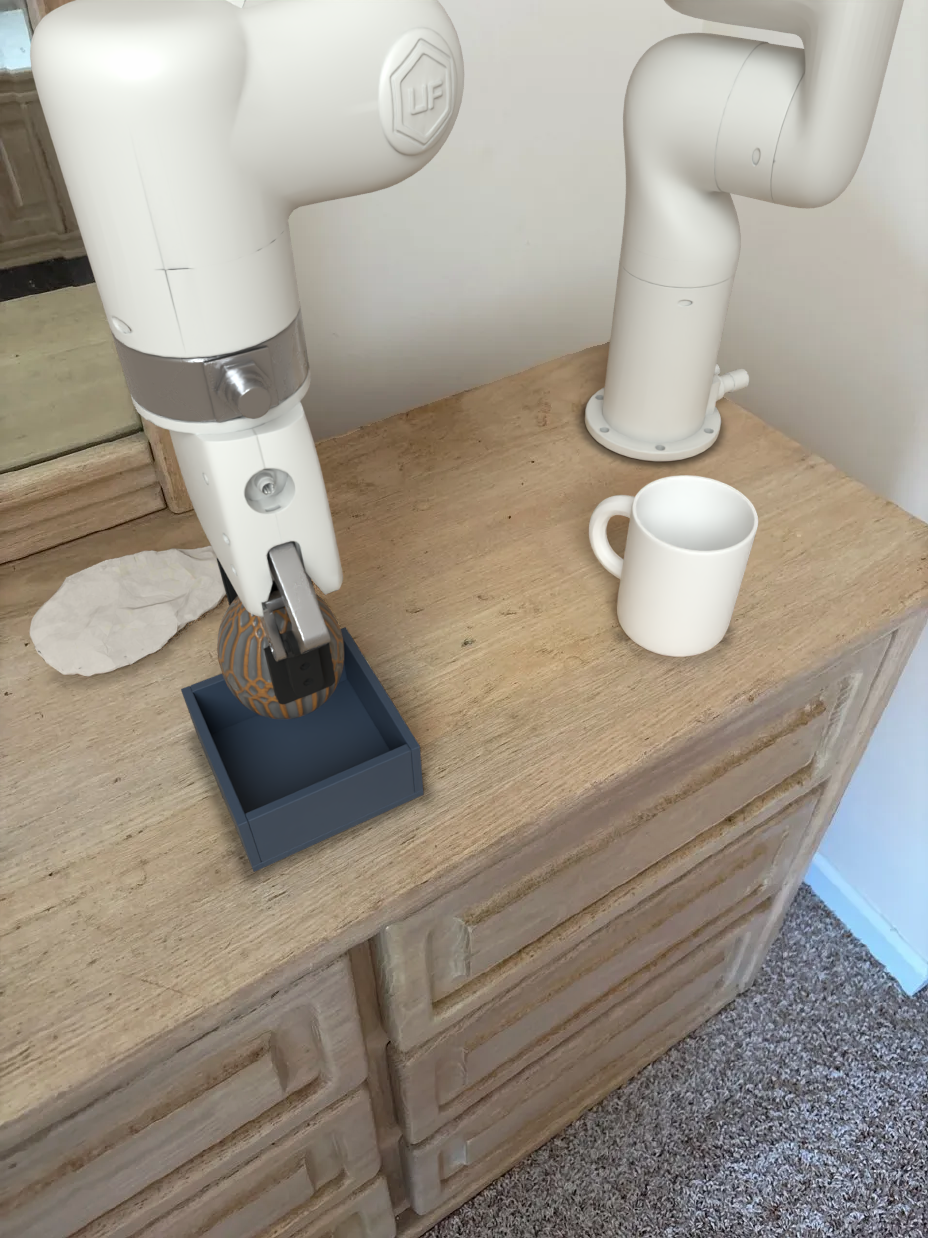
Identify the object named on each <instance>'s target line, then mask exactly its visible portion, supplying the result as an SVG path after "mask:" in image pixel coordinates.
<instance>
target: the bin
mask: <svg viewBox="0 0 928 1238" xmlns="http://www.w3.org/2000/svg"><path fill="white" fill-rule="evenodd" d="M340 629H341V633H342V637H343V644H344V665H343V670H342V674H341V677H340V680H339V683H338V685H337V687H336V689H335V690H334V692H333V694H332V695H331V696H330V698H329V699H328V700H327V701H326V702H325V703H323V704H322V705H321V706H320V707H319V708H317V709H316V710H314V711H313V712H311V713H309V714H306V715H304V716H301V717H297V718H292V719H273V718H269V717H265V716H262V715H259V714H257V713H255V712H253V711H251V710H250V709H248V708H247V707H246V706H244V705H243V704H242V703H241V702H240V701H239V700H238V699H237V698H236V697H235V696H234V694H233V693H232V692H231V690H230V689H229V687H228V685H227V684H226V681H225V679H224V677H223V674H222V673H219V674H216V675H214V676H211V677H209V678H206V679H204V680H200V681H198V682H196V683H193V684H190V685H188V686H185V687H182V688H181V689H180V692H181V695H182V697H183V700H184V702H185V706H186V708H187V711H188V714H189V716H190V719H191V722H192V725H193V728H194V729H195V733H196V736H197V738H198V741H199V743H200V746H201V748H202V751H203V753H204V755H205V758H206V761H207V763H208V765H209V768H210V770H211V772H212V775H213V777H214V779H215V782H216V785H217V788H218V789H219V792H220V794H221V798H223V801H224V804H225V807H226V809H227V811H228V813H229V816H230V818H231V821H232V823H233V825H234V828H235V830H236V833H237V835H238V837H239V840H240V843H241V845H242V848H243V849H244V852H245V854H246V857H247V859H248V862H249V865H250V866H251V869H252V871H253V873H254V872H257V871H260V870H261V869H264V868H266V867H269V866H271V865H273V864H275V863H277V862H279V861H281V860H283V859H286V858H288V857H291V856H293V855H295V854H296V853H299V852H301V851H303V850H306V849H309V848H310V847H312V846H314V845H316V844H319V843H321V842H323V841H325V840H328V839H330V838H332V837H333V836H334V837H335V836H336V835H338V834H340V833H343V832H346V831H347V830H349V829H351V828H354V827H357V826H359V825H360V824H362V823H364V822H367V821H370V820H371V819H373V818H376V817H378V816H381V815H383V814H384V813H387V812H389V811H392V810H393V809H395V808H397V807H401V806H402V805H404V804H406V803H409V802H410V801H413V800H416V799H418V798H419V797H422V796H424V793H425V792H424V783H423V782H424V781H423V770H422V769H423V768H422V767H423V766H422V755H421V745H420V743H419V742H418V741H417V739H416V737H415V736H414V734H413V733H412V731H411V730H410V728H409V726H408V725H407V722H406V721H405V719H404V718H403V716H402V715H401V713H400V711H399V710H398V709H397V707H396V705H395V704H394V702H393V700H392V698H390V696H389V694H388V693H387V691H386V689H385V687H384V686H383V685H382V683H381V681H380V680H379V678H378V676H377V675H376V673H375V671H374V669H373V668H372V667H371V665H370V664H369V662H368V660H367V659H366V657H365V656H364V654H363V652H362V651H361V649H360V648H359V646H358V644H357V643H356V641H355V640H354V638H353V637H352V635H351V633H350V632H349V630H348V629H347V627H341V628H340Z"/></svg>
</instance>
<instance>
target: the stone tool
mask: <svg viewBox="0 0 928 1238" xmlns="http://www.w3.org/2000/svg"><path fill="white" fill-rule="evenodd" d="M216 558H217V556H216V554H215V552H214V550H213V548H212V546H211V545H207V546H204V547H197V548H193V549H189V548H188V549H187V548H185V549H184V548H176V547H175V548H170V549H167V550H161V551H156V550H142V551H139V552H136V553H132V554H126V555H123V556H120V557H115V558H110V559H105V560H103V561H101V562H99V563H96V564H93V565H91V566H89V567H86V568H84V569H82V570H79V571H78V572H76V573H73V574H71V575H68V576H67V577H65V579H64V581H63V582H62V583H61V585H60V586H59V588H58V589H57V590H56V592H54V593H53V595H52V596H51V597H50V598H48V600H46V601H45V602H44V603H43V604H42V605H41V606H40V607H39V608H38V609H37V610H36V612H35V614H34V615H33V617H32V619H31V622H30V626H29V637H30V639H31V641H32V643H33V645H34V650H35V651H36V653H37V654H38V655H39V656H40V657H41V658H42V659H43V661H44V662H45V664H46V665H48V666H50V667H51V668H53V669H55V671H57V672H59V673H60V674H61V675H63V676H64V675H65V676H66V675H73V676H74V675H81V676H85V677H91V676H94V675H101V674H106V673H110V672H113V671H114V670H117V669H120V668H124V667H126V666H128V665H133V664H135V663H136V662H137V661H139V660H141V659H143V658H145V657H146V656H148V655H152V654H155V652H158V651H159V650H161V649H162V648H163V646H165V645H166V644H167V643H168V641H169V640H170V639H172V638H173V637H174V636H175V635H176V633H178V632H179V631H180V630H182V629H183V628H185V627H186V626H187V624H189V623H191V622H193V621H196V620H198V619H199V618H200V617H201V616H202V615H203V614H205V613H206V612H209V611H212V610H215V609H216V608H217V607H218V606H219V605H220V604H221V602H222V600H223V598H224V597H225V596H226V592H225V588H224V585H223V581H222V577H221V574H220V570H219V566H218V563H217V559H216Z"/></svg>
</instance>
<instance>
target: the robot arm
mask: <svg viewBox="0 0 928 1238" xmlns="http://www.w3.org/2000/svg"><path fill="white" fill-rule="evenodd" d="M663 1H664V3H665V4H666V5H667V6H668V7H669V8H671V9H672V10H674V11H675V12H677V13H680V14H682V15H685V16H687V17H691V18H693V19H697V20H703V21H707V22H713V23H719V24H725V25H732V26H738V27H746V28H752V29H759V30H765V31H772V32H778V33H784V34H789V35H790V34H791V35H795V36H797V37H799V39H801V42H802V45H803V48H801V47H796V46H795V47H794V46H788V45H782V44H775V43H771V42H768V41H764V40H757V39H751V38H743V37H738V36H732V35H731V36H730V35H725V34H717V33H709V32H708V33H707V32H688V33H687V32H686V33H678V34H674V35H671V36H667V37H665V38H663V39H661V40H659V41H657V42H655V43H654V44H652V46H650V47H649V48H648V49H647V50H645V52H644V53H643V54H642V55H641V56H640V58H639V59H638V61H637V62H636V64H635V66H634V67H633V69H632V72H631V74H630V76H629V79H628V82H627V85H626V89H625V94H624V101H623V112H622V133H623V135H622V136H623V147H624V148H623V149H624V150H623V151H624V163H625V165H624V166H625V167H624V168H625V199H624V214H623V227H622V236H621V245H620V246H621V247H620V255H619V256H620V257H619V260H618V270H617V278H616V286H615V295H614V296H615V297H614V305H613V312H612V321H611V329H610V338H609V345H608V353H607V355H608V356H607V365H606V372H605V382H604V387H602V388H601V389H599V390H597V391H596V392H595V393H594V394H592V396H591V397H590V398H589V399H588V401H587V403H586V406H585V410H584V411H585V412H584V423H585V427H586V429H587V431H588V433H589V435H590V436H591V437H592V438H593V439H594V440H595V441H596V442H597V443H598V444H600V445H602V446H603V447H604V448H606V449H607V450H610V451H612V452H614V453H615V454H619V455H621V456H625V457H627V458H630V459H631V458H632V459H635V460H640V461H647V462H648V461H649V462H674V461H681V460H685V459H688V458H692V457H695V456H697V455H699V454H702V453H703V452H705V451H707V450H709V448H711V447H712V446H713V445H714V443H715V442H716V441H717V439H718V437H719V435H720V430H721V426H722V418H721V413H720V411H719V409H718V407H717V406H716V403H717V402H718V401H720V400H722V399H723V398H724V396H725V394H731V393H735V392H737V391H740V390H743V389H746V388H747V387H748V386H749V384H750V375H749V373H748V371H747V370H746V369H744V368H736V369H733V370H730V371H727V372H725V373H723V374H721V368H720V365H719V364H718V357H719V352H720V347H721V343H722V338H723V333H724V329H725V324H726V320H727V315H728V309H729V304H730V300H731V295H732V292H733V287H734V281H735V276H736V272H737V269H738V264H739V260H740V254H741V246H742V235H741V225H740V220H739V217H738V212H737V210H736V206H735V203H734V201H733V197H732V196H731V195H737V196H739V197H744V198H748V199H753V200H757V201H762V202H767V203H771V204H775V205H781V206H784V207H790V208H798V209H817V208H821V207H824V206H827V205H829V204H831V203H832V202H834V201H836V200H837V199H838V198H839V197H840V196H842V194H843V193H844V192H845V191H846V190H847V188H848V187H849V186H850V184H851V182H852V180H853V179H854V177H855V175H856V173H857V172H858V168H859V166H860V164H861V161H862V159H863V157H864V154H865V152H866V148H867V145H868V142H869V139H870V135H871V131H872V128H873V125H874V121H875V117H876V113H877V109H878V106H879V101H880V97H881V94H882V89H883V86H884V81H885V77H886V73H887V69H888V66H889V65H888V64H889V62H890V57H891V53H892V49H893V46H894V42H895V38H896V34H897V29H898V26H899V22H900V17H901V14H902V10H903V5H904V1H905V0H663ZM29 59H30V68H31V69H30V70H31V73H32V76H33V80H34V81H33V82H34V84H35V89H36V91H37V96H38V100H39V103H40V107H41V109H42V113H43V116H44V119H45V122H46V126H47V128H48V132H49V135H50V139H51V142H52V144H53V145H52V146H53V148H54V150H55V155H56V157H57V162H58V164H59V167H60V171H61V175H62V177H63V180H64V184H65V187H66V190H67V193H68V197H69V200H70V203H71V206H72V209H73V214H74V216H75V219H76V223H77V227H78V229H79V232H80V236H81V239H82V242H83V245H84V248H85V252H86V254H87V258H88V262H89V265H90V268H91V271H92V274H93V277H94V278H93V279H94V280H95V284H96V287H97V290H98V294H99V298H100V300H101V303H102V306H103V307H102V308H103V310H104V313H105V316H106V320H107V324H108V326H109V329H110V333H111V336H112V340H113V342H114V345H115V349H116V352H117V355H118V358H119V359H118V360H119V362H120V365H121V369H122V372H123V375H124V378H125V381H126V384H127V388H128V391H129V393H130V397H131V401H132V404H133V406H134V408H135V410H136V412H137V413H138V414H139V415H140V416H141V417H142V418H143V419H144V420H146V421H147V422H150V423H151V424H153V425H154V426H156V427H159V428H161V429H164V430H168V432H169V435H170V439H171V443H172V446H173V450H174V453H175V457H176V460H177V463H178V466H179V470H180V473H181V477H182V479H183V482H184V485H185V488H186V491H187V495H188V497H189V499H190V502H191V505H192V507H193V510H194V512H195V514H196V517H197V519H198V521H199V524H200V526H201V528H202V530H203V532H204V534H205V536H206V538H207V540H208V542H209V544H210V546H212V548H213V550H214V552H215V554H216V556H217V558H216V559H217V563H218V566H219V570H220V574H221V577H222V581H223V585H224V588H225V592H226V595H225V596H226V599H227V603H228V607H229V606H230V605H231V603H232V602H233V601H234V600H235V598H236V597H237V596H239V598H240V600H241V602H242V604H243V605H244V607H245V608H246V610H247V611H248V612H249V613H251V614H254V615H256V616H259V617H260V619H261V622H262V625H263V628H264V631H265V634H266V637H267V640H268V643H269V646H268V647H266V648H264V652H265V656H266V661H267V665H268V669H269V673H270V677H271V681H272V685H273V689H274V693H275V696H276V698H277V700H278V702H279V703H280V704H287V703H290V702H292V701H295V700H297V699H300V698H302V697H305V696H308V695H311V694H313V693H316V692H318V691H320V690H323V689H325V688H328V687H330V686H332V685H333V684H334V683H335V674H334V668H333V662H332V657H331V651H330V645H329V642H330V635H329V632H328V629H327V627H326V624H325V622H324V619H323V616H322V613H321V610H320V606H319V603H318V600H317V597H316V594H317V593H316V590H315V587H314V584H315V585H316V587H318V589H319V590H320V591H321V592H322V593H323V594H324V595H325V596H326V595H328V594H331V593H333V592H337V591H340V589H341V587H342V585H343V581H344V573H343V567H342V563H341V557H340V552H339V548H338V543H337V537H336V533H335V532H336V531H335V526H334V521H333V517H332V513H331V507H330V501H329V498H328V493H327V489H326V484H325V480H324V475H323V471H322V467H321V463H320V459H319V456H318V451H317V449H316V444H315V441H314V437H313V435H312V430H311V428H310V425H309V422H308V418H307V416H306V415H307V414H306V413H305V409H304V407H303V404H302V402H301V401H302V400H303V398H304V397H305V396H306V395H307V393H308V391H309V389H310V386H311V383H312V375H311V367H310V363H309V357H308V355H309V354H308V349H307V341H306V334H305V328H304V321H303V313H302V308H301V307H302V306H301V301H300V295H299V294H300V293H299V288H298V280H297V273H296V267H295V259H294V253H293V252H294V251H293V245H292V238H291V230H290V225H289V218H290V217H291V215H292V213H293V212H294V211H296V210H297V209H298V208H301V207H306V206H310V205H315V204H316V205H317V204H320V203H326V202H330V201H335V200H340V199H346V198H351V197H357V196H361V195H366V194H371V193H376V192H378V191H379V192H380V191H382V190H385V189H389V188H391V187H394V186H395V185H398V184H400V183H402V182H403V181H405V180H407V179H409V178H411V177H413V176H414V175H415V174H417V173H418V172H420V171H421V170H422V169H424V168H425V167H426V166H427V165H428V164H429V163H430V162H431V161H432V160H433V159H434V158H435V156H437V154H438V153H439V152H440V151H441V149H442V148H443V146H444V144H445V143H446V142H447V140H448V138H449V137H450V135H451V133H452V131H453V129H454V126H455V124H456V122H457V119H458V116H459V113H460V109H461V105H462V102H463V97H464V96H463V95H464V90H465V62H464V61H465V60H464V55H463V49H462V45H461V43H460V38H459V36H458V32H457V30H456V28H455V25H454V23H453V21H452V19H451V17H450V16H449V14H448V12H447V11H446V9H445V8H444V6H443V5H442V4H441V3H440V1H439V0H71V1H70V2H69V1H68V2H67V3H64V4H62V5H61V6H58V7H57V8H55V9H52V10H50V12H48V13H47V14H45V15H44V16H43V17H42V18H41V20H40V21H39V22H38V24H37V25H36V26H35V28H34V32H33V34H32V38H31V41H30V49H29ZM720 374H721V375H720ZM272 581H275V582H276V585H277V587H278V591H275V592H272V593H270V591H271V587H272V584H273V582H272ZM284 607H285V608H286V610H287V613H288V615H289V618H290V621H291V624H292V630H290V631H287V632H285V633H282V634H280V632H279V629H278V626H277V623H276V619H275V616H274V613H273V611H276V610H279V609H282V608H284Z"/></svg>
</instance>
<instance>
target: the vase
mask: <svg viewBox="0 0 928 1238" xmlns="http://www.w3.org/2000/svg"><path fill="white" fill-rule="evenodd" d="M272 582H273V584H272V587H271V591H270V593H272V592H275V591H278V587H277V585H276V582H275V581H272ZM316 597H317V600H318V603H319V606H320V610H321V613H322V616H323V619H324V622H325V624H326V627H327V629H328V632H329V635H330V642H329V645H330V651H331V657H332V662H333V668H334V674H335V683H334V684H333V685H332V686H330V687H328V688H325V689H323V690H320V691H318V692H316V693H313V694H311V695H308V696H305V697H302V698H300V699H297V700H295V701H292V702H290V703H287V704H280V703H279V702H278V700H277V698H276V696H275V693H274V689H273V685H272V681H271V677H270V673H269V669H268V665H267V661H266V656H265V652H264V648H266V647H268V646H269V643H268V640H267V637H266V634H265V631H264V628H263V625H262V622H261V619H260V617H259V616H256V615H254V614H251V613H249V612H248V611H247V610H246V608H245V607H244V605H243V604H242V602H241V600H240V598H239V596H237V597H236V598H235V600H234V601H233V602H232V603H231V605H230V606H229V605H228V607H227V609H226V611H224V613H223V617H222V619H221V621H220V625H219V628H218V634H217V643H216V652H217V660H218V665H219V668H220V671H221V674H223V677H224V679H225V681H226V684H227V685H228V687H229V689H230V690H231V692H232V693H233V694H234V696H235V697H236V698H237V699H238V700H239V701H240V702H241V703H242V704H243V705H244V706H246V707H247V708H248V709H250V710H251V711H253V712H255V713H257V714H259V715H262V716H265V717H269V718H273V719H292V718H297V717H301V716H304V715H306V714H309V713H311V712H313V711H314V710H316V709H317V708H319V707H320V706H321V705H322V704H323V703H325V702H326V701H327V700H328V699H329V698H330V696H331V695H332V694H333V692H334V690H335V689H336V687H337V685H338V683H339V680H340V677H341V674H342V670H343V665H344V644H343V637H342V633H341V629H342V628H341V626H340V625H339V621H338V619H337V618H336V616H335V614H334V612H333V611H332V609H331V608H330V606H329V605H328V604H327V602H326V601H325V600H324V599H323V598H322V597H321V596H320V595H319V594H318V593H316ZM273 613H274V616H275V619H276V623H277V626H278V629H279V632H280V634H282V633H285V632H287V631H290V630H292V624H291V621H290V618H289V615H288V613H287V610H286V608H285V607H284V608H282V609H279V610H276V611H273Z"/></svg>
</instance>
